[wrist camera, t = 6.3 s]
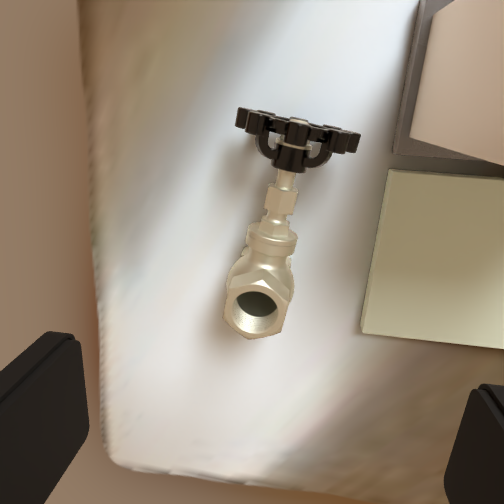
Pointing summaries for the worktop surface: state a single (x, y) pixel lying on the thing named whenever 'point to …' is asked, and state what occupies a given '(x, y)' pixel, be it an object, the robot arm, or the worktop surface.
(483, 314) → the pad
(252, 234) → the valve
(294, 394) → the worktop surface
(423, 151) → the pump housing
